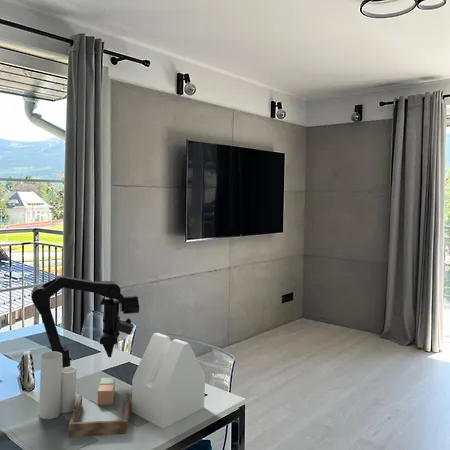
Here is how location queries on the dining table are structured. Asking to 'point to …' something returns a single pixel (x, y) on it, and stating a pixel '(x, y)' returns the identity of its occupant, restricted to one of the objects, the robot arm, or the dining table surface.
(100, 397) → the terracotta block
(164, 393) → the white slotted block
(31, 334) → the dining table surface
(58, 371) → the white tubes
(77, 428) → the box
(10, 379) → the dining table surface
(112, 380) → the sage block
